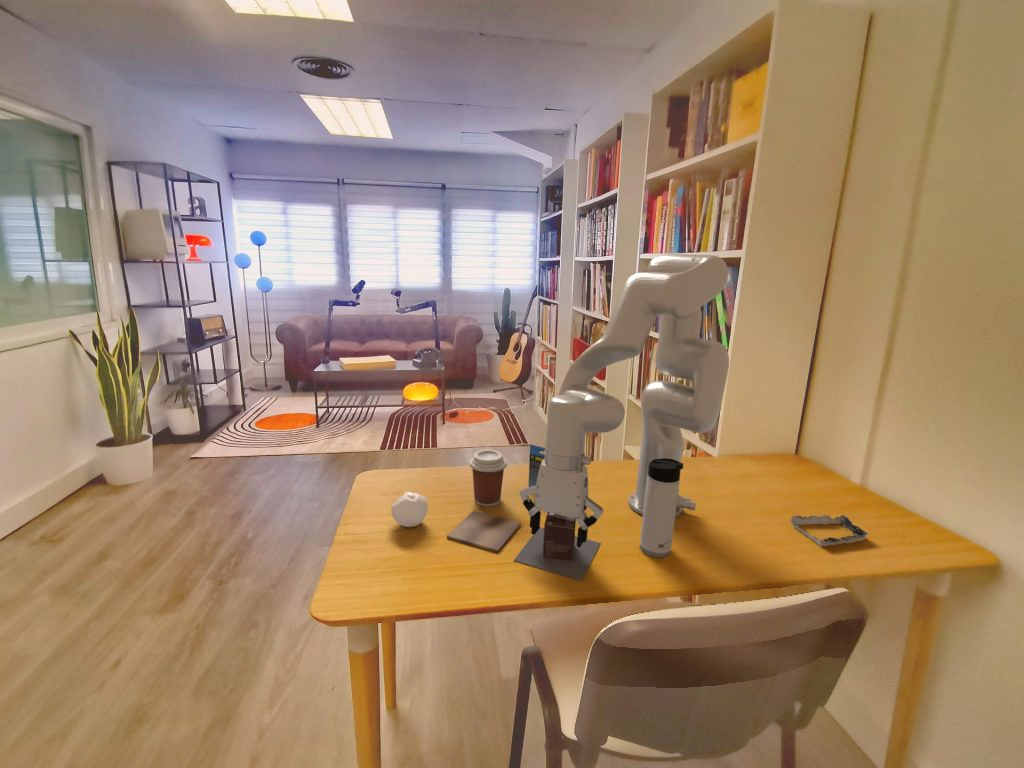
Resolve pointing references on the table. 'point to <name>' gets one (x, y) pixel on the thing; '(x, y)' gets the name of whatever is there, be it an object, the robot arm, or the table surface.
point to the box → (559, 537)
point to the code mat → (569, 568)
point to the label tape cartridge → (535, 463)
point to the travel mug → (660, 507)
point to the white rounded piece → (410, 509)
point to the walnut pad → (484, 531)
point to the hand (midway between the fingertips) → (557, 537)
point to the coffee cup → (487, 476)
